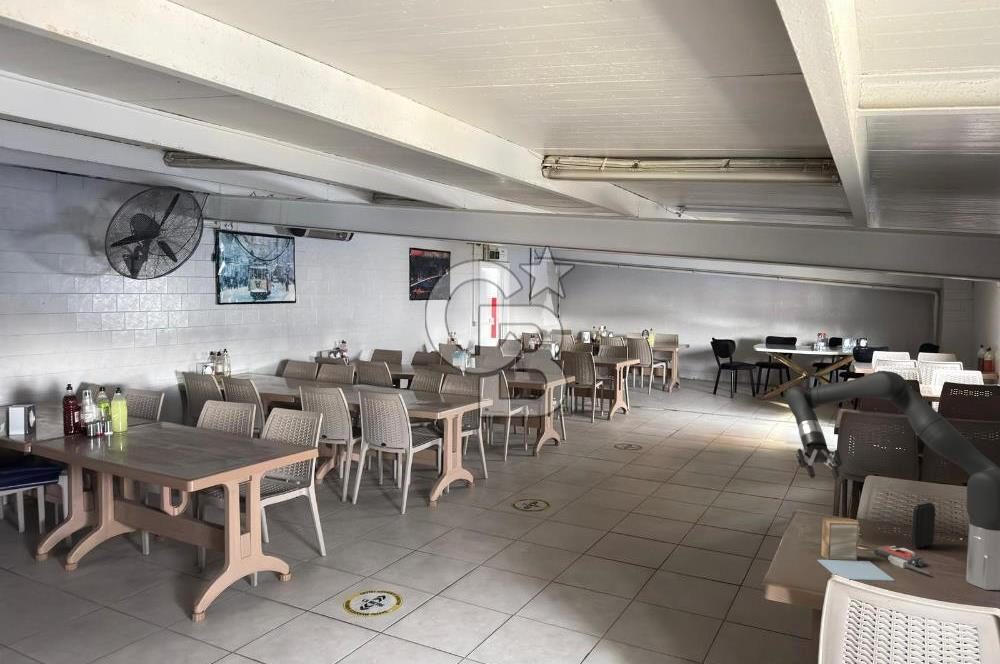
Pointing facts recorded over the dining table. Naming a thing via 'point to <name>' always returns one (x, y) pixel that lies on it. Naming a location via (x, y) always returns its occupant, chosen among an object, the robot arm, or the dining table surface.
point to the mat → (856, 570)
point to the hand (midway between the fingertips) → (824, 477)
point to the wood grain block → (839, 539)
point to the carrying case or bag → (923, 525)
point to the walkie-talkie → (901, 557)
